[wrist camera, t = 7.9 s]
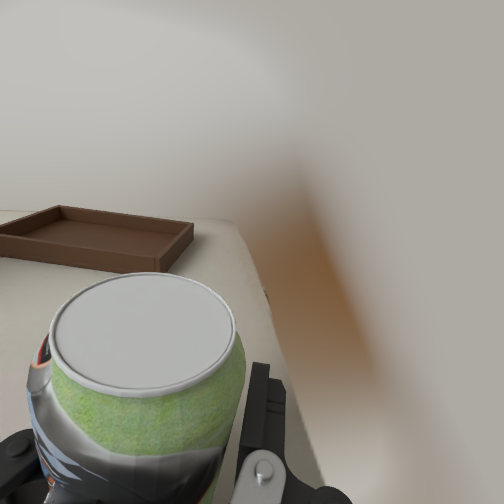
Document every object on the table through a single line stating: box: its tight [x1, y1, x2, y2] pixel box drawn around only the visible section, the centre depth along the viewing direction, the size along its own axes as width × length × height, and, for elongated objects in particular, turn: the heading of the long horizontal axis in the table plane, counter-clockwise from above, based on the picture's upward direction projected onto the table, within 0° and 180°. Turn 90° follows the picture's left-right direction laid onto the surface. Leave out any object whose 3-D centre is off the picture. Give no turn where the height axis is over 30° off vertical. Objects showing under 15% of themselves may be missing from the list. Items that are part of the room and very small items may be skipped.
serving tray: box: [0, 205, 194, 274], centre depth 40 cm, size 21×13×3 cm, turn 84°
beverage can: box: [27, 272, 246, 504], centre depth 11 cm, size 6×7×12 cm
